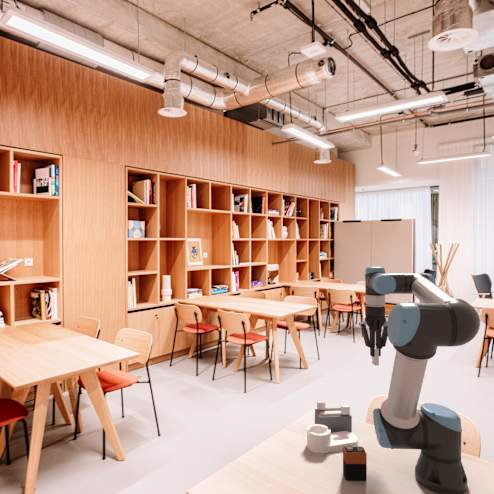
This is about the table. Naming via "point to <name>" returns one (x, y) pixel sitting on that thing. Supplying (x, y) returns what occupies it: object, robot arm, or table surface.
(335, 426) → the switch box
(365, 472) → the battery
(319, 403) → the rear tab
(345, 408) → the front tab
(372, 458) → the table surface
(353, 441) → the bracket
